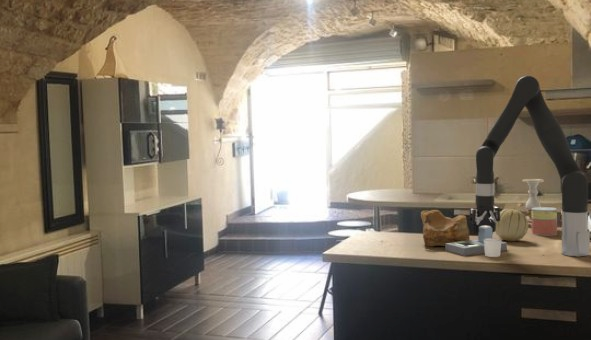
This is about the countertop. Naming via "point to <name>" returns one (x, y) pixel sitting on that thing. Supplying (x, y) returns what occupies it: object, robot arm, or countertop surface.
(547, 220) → the canned food
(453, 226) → the rough brown rock
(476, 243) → the socket panel
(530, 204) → the candle holder
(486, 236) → the light blue cylinder
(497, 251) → the shot glass
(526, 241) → the countertop surface
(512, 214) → the cantaloupe
